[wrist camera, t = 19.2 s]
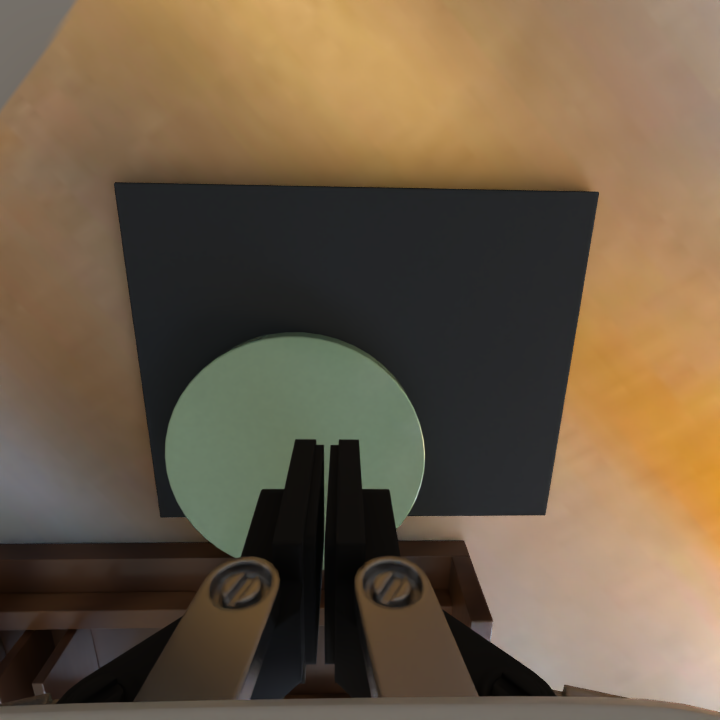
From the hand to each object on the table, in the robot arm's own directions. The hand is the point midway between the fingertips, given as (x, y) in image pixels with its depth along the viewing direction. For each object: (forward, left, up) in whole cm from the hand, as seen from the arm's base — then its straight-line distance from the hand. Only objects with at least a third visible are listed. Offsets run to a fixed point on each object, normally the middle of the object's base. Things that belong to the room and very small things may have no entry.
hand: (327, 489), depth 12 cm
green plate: (+2, +4, -9) cm, 10 cm away
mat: (-1, 0, -10) cm, 10 cm away
